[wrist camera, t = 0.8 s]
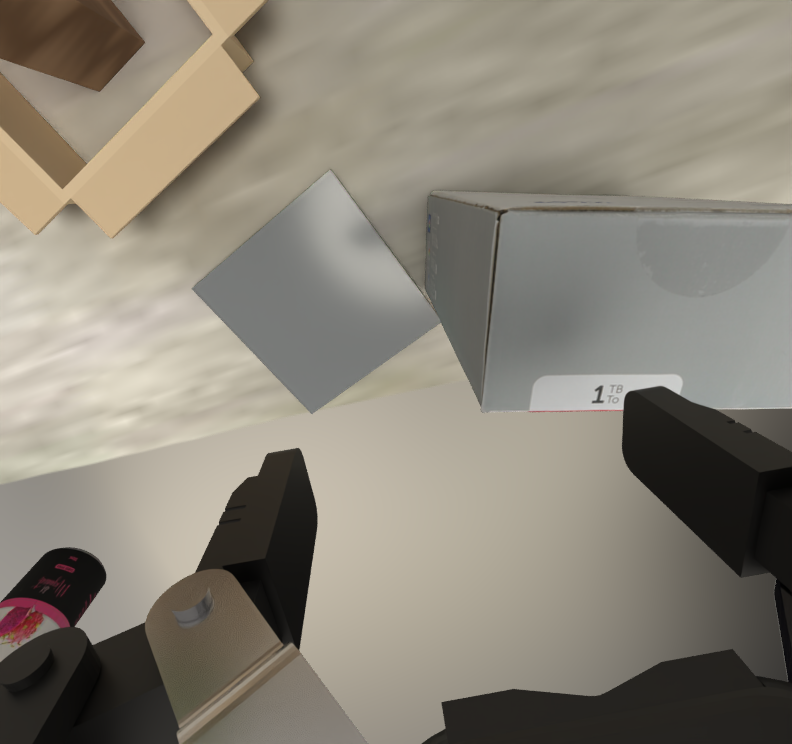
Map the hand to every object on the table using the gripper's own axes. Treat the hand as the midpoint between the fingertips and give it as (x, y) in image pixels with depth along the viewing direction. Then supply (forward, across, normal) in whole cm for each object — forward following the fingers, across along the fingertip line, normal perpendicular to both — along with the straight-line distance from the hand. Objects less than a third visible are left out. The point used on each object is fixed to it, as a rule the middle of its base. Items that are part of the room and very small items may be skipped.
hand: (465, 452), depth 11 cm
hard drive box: (+25, -10, -2) cm, 27 cm away
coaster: (+26, +6, 0) cm, 26 cm away
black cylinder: (+28, +38, +24) cm, 53 cm away
